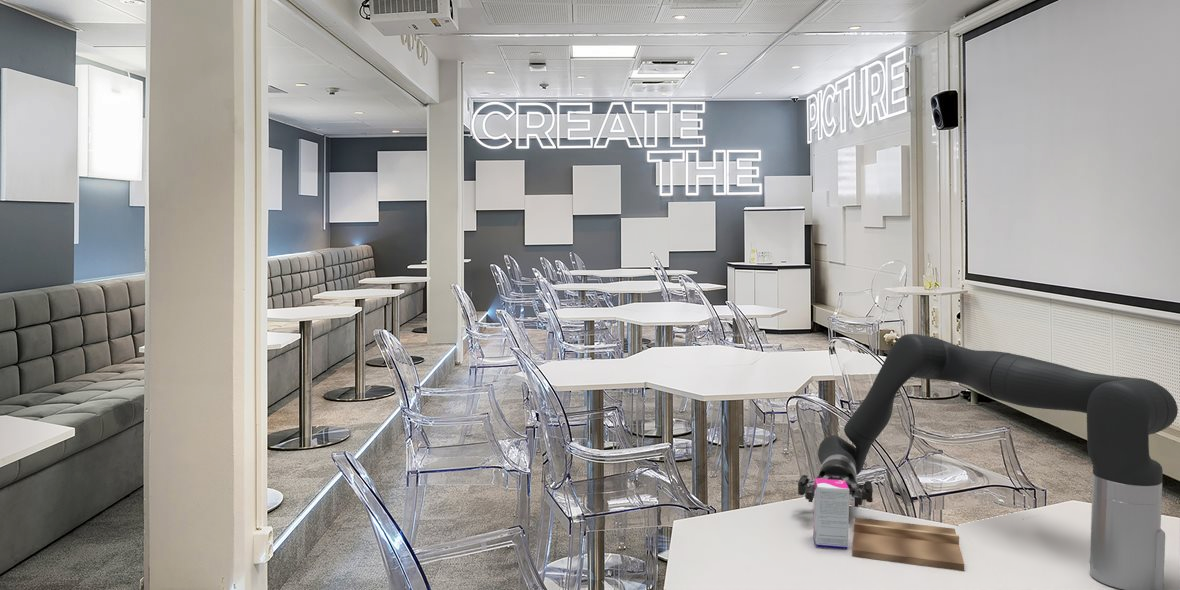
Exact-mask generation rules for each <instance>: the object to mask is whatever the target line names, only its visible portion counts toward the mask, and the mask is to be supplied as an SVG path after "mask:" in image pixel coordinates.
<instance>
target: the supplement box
mask: <svg viewBox="0 0 1180 590" xmlns="http://www.w3.org/2000/svg"><path fill="white" fill-rule="evenodd" d="M814 480H815V495H814V498H813V500H814V502H813V534H812V537H813V541H814V545H815V547H816V548H817V549H830V550H845V551H847V550H848V549H849V528H850V527H849V526H850V525H849V524H850V523H849V522H850V521H849V520H850V500H849V488H848V485H847V483H846V481H845V480H831V479H818V477H816V478H814Z"/></svg>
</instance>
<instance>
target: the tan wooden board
mask: <svg viewBox="0 0 1180 590" xmlns="http://www.w3.org/2000/svg"><path fill="white" fill-rule="evenodd" d="M852 539H853V540H852V551H851V553H852V554H851V557H856V558H862V559H871V560H878V561H879V560H880V561H884V562H885V561H886V562H894V563H899V564H900V563H902V564H907V565H917V566H924V567H930V568H939V569H947V570H954V571H962V572H965V561H964V558H963V553H962V551H961V546H960V534H957V533H956V528H952V527H942V526H934V525H925V524H917V523H909V522H901V521H900V522H899V521H891V520H890V521H889V520H882V519H874V518H864V517H854V523H853V538H852Z"/></svg>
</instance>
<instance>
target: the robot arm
mask: <svg viewBox="0 0 1180 590" xmlns="http://www.w3.org/2000/svg"><path fill="white" fill-rule="evenodd" d="M911 378H913V379H924V380H935V381H937V380H938V381H946V382H951V383H958V384H961V385H965V386H968V387H970V388H972V389H974V390H975V391H977V392H979V393H980V394H983V395H984V396H986V397H990V398H991V399H995V400H998V401H1002V402H1005V403H1009V404H1013V405H1016V406H1021V407H1025V408H1033V409H1034V408H1035V409H1043V410H1053V411H1054V410H1055V411H1067V412H1079V413H1084V414H1086V435H1087V436H1086V441H1087V443H1086V448H1087V453H1088V456H1089V459H1090V460H1091V461H1090V462H1091V464H1092V483H1091V484H1092V487H1091V492H1092V493H1091V516H1090V517H1091V520H1090V522H1091V523H1090V545H1089V546H1090V548H1089V549H1090V550H1089V551H1090V553H1089V575H1090V576H1091V577H1092V578H1093V579H1094V580H1096V581H1098V582H1099V583H1102V584H1104V585H1107V586H1109V587H1113V588H1116V589H1120V590H1164V585H1165V584H1164V582H1165V581H1164V580H1165V579H1164V578H1165V561H1166V560H1165V557H1166V556H1165V555H1166V554H1165V553H1166V533H1165V531H1164V530H1163V529H1162V528H1161V526H1162V524H1161V523H1162V504H1163V503H1162V499H1163V496H1162V495H1163V475H1164V474H1163V473H1164V471H1163V467H1162V464H1160V462H1158V461H1157V460H1156V459H1155V460H1154V459H1152V458H1151V456H1150V443H1149V442H1150V441H1149V440H1150V439H1149V436H1150V435H1153V434H1157V433H1159V432H1162V431H1163V430H1166V429H1167V428H1169V427H1170V426H1171V425H1173V423H1174V421H1176V418H1177V416H1178V413H1179V412H1178V410H1179V409H1178V404H1177V401H1176V400H1175V398H1174V396H1173V395H1172V394H1171V393H1170V392H1169V391H1168V389H1167V388H1165V387H1164V386H1163V385H1160V384H1158V382H1155V381H1153V380H1150V379H1146V378H1142V377H1141V378H1139V377H1131V376H1130V377H1128V376H1117V375H1109V374H1102V373H1095V372H1090V371H1089V372H1088V371H1084V370H1080V369H1077V368H1074V367H1070V366H1067V365H1062V364H1058V363H1056V362H1055V363H1054V362H1051V361H1046V360H1042V359H1038V358H1033V357H1030V356H1026V355H1025V356H1024V355H1021V354H1016V353H1015V354H1014V353H1010V352H1005V351H997V350H996V351H995V350H975V349H971V348H968V347H963V346H960V345H957V344H954V343H953V342H952V343H951V342H949V341H947V340H946V341H945V340H943V339H940V338H938V337H933V336H930V335H922V334H917V333H907V334H903V335H902V336H900V337H899V338H897V340H896V341H895V342H894V344H893V345H891V348H890V349H889V351H888V353H887V356H886V358H885V360H884V361H883V364H882V366H881V367H880V369H879V371H878V373H877V375H876V377H875V379H874V382H873V383H872V385H871V387H870V389H869V391H868V392H867V395H866V396H865V398H864V399H863V401H862V402H861V403H860V405H859V406H858V407H857V408H856V410H855V411H854V413H853V414H852V415H851V417H849V419H848V421H847V422H846V423H845V425H844V427H843V432H844V434H845V436H846V438H847V439H849V441H850V442H851V443H852V444H853V445H852V444H851V443H849V442H848V441H846V440H845V439H843V438H842V437H840V436H838V435H835V434H834V435H833V434H832V435H828V436H825V438H823V440H822V441H821V443H820V444H819V446H818V451H817V457H818V461H819V463H820V465H821V466H820V468H819V472H818V477H817V478H818V479H831V480H845V481H846V483H847V485H848V488H849V502H850V501H851V502H852V501H854V503H853V504H854V508H855V507H856V508H859V506H862V505H863V501H866V502H867V503H873V502H874V501H873V500H874V499H873V493H874V490H873V484H872V481H870V480H866V481H865V482H863V483H861V484H860V483H858V481H857V476H858V475H859V474H860V473H861V472H862V470H863V468H864V465H865V462H866V459H867V455H868V454H869V451H870V448H871V447H872V445H873V443H874V442H875V441H876V439H877V438H878V437H879V436H880V434H881V433H882V432H883V431H884V429H885V428H886V427H887V425H888V423H889V422H890V419H891V417H892V415H893V414H892V413H893V408H894V402H895V397H896V395H897V393H898V392H899V390H900V389H901V388H902V387H903V385H905V383H907V382H908V380H910V379H911ZM797 494H798V495H799V496H803V495H804V496H805V497H804V499H805V500H807V501H808V503H813V500H814V495H815V479H810V477H809V475H806V474H802V475H801V477H799V480H798V481H797Z"/></svg>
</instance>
